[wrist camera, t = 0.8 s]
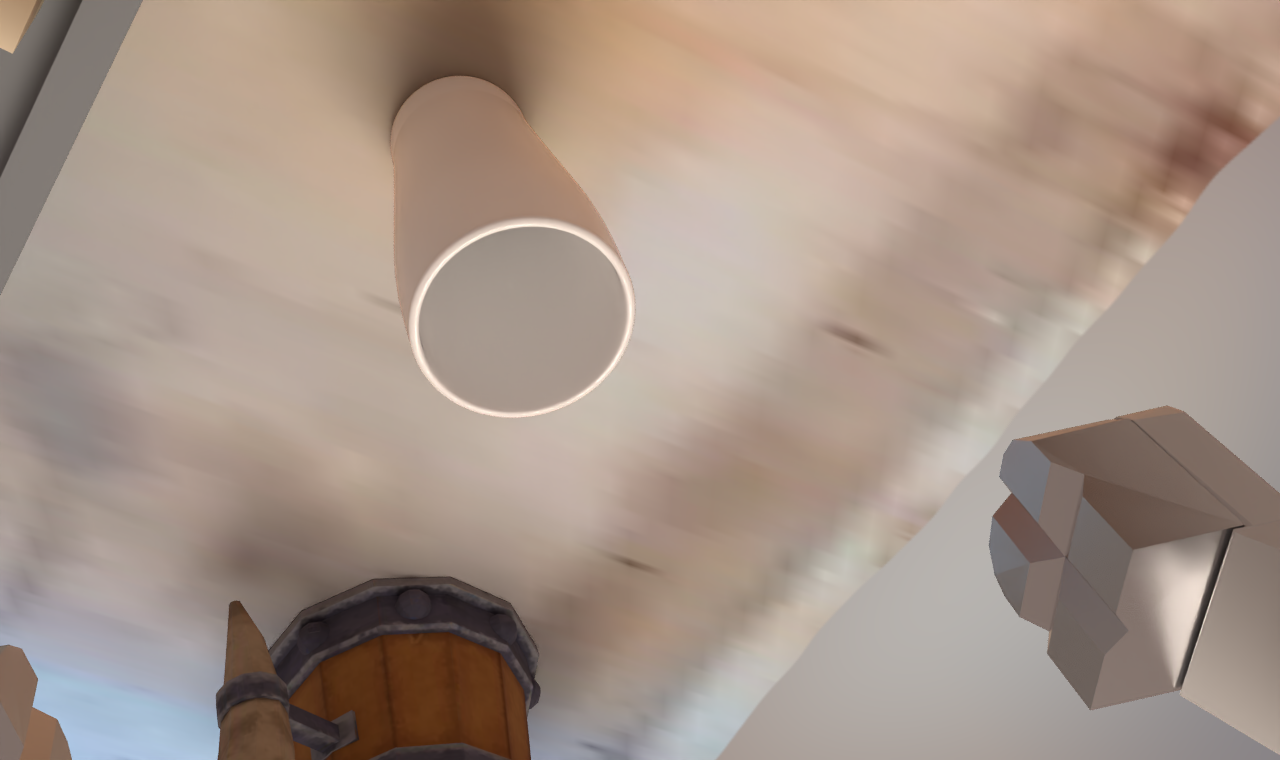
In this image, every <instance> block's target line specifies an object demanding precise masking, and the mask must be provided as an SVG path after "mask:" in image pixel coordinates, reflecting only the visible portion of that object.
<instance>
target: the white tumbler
mask: <svg viewBox="0 0 1280 760" xmlns="http://www.w3.org/2000/svg"><path fill="white" fill-rule="evenodd" d="M390 149H391V156H392V161H393V166H394V268H395V278H396V286H397V292H398V298H399V303H400V308H401V312H402V316H403V320H404V324H405V328H406V331H407V335H408V338H409V341H410V345H411V349H412V352H413V355H414V357H415V360H416V362H417V364H418V366H419V368H420V370H421V371H422V373H423V374H424V376H425V377H426V378H427V380H428V381H429V382H430V383H431V384H432V385H433V386H434V387H435V388H436V389H437V390H438V391H439V392H440V393H441V394H442V395H444V396H445V397H446V398H448V399H449V400H451V401H453V402H454V403H456V404H458V405H460V406H462V407H464V408H466V409H469V410H471V411H474V412H477V413H481V414H484V415H489V416H495V417H505V418H519V417H529V416H536V415H540V414H545V413H548V412H551V411H555V410H558V409H560V408H562V407H565V406H567V405H569V404H571V403H573V402H575V401H577V400H579V399H580V398H582V397H583V396H585V395H586V394H588V393H589V392H591V391H592V390H593V389H595V388H596V387H597V386H598V385H599V384H600V383H601V382H602V381H603V380H604V379H605V378H606V377H607V376H608V375H609V374H610V373H611V372H612V370H613V369H614V368H615V366H616V365H617V364H618V362H619V360H620V359H621V357H622V355H623V354H624V352H625V350H626V348H627V345H628V343H629V341H630V338H631V334H632V331H633V326H634V321H635V295H634V289H633V285H632V281H631V279H630V276H629V273H628V271H627V269H626V267H625V264H624V262H623V260H622V257H621V255H620V253H619V250H618V248H617V246H616V244H615V242H614V240H613V238H612V236H611V234H610V232H609V230H608V228H607V226H606V224H605V223H604V221H603V219H602V218H601V216H600V214H599V213H598V211H597V210H596V208H595V207H594V205H593V204H592V202H591V201H590V199H589V198H588V196H587V195H586V194H585V192H584V191H583V190H582V189H581V187H580V186H579V185H578V184H577V182H576V181H575V180H574V179H573V177H572V176H571V175H570V174H569V173H568V171H567V170H566V169H565V168H564V167H563V165H562V164H561V163H560V162H559V161H558V159H557V158H556V157H555V156H554V155H553V153H552V152H551V151H550V150H549V149H548V147H547V146H546V145H545V144H544V143H543V141H542V140H541V139H540V138H539V136H538V135H537V134H536V133H535V131H534V130H533V129H532V128H531V126H530V125H529V124H528V122H527V121H526V119H525V117H524V116H523V114H522V112H521V110H520V109H519V107H518V105H517V104H516V103H515V102H514V100H513V99H512V98H511V97H510V96H509V95H508V94H507V93H506V92H504V91H503V90H502V89H500V88H499V87H497V86H496V85H494V84H492V83H490V82H488V81H486V80H483V79H479V78H476V77H471V76H449V77H444V78H440V79H437V80H434V81H432V82H429V83H427V84H425V85H424V86H422V87H421V88H419V89H418V90H416V91H415V92H414V93H413V94H412V95H411V96H410V97H409V98H408V99H407V100H406V101H405V102H404V104H403V105H402V107H401V108H400V110H399V111H398V113H397V115H396V118H395V120H394V123H393V127H392V131H391V139H390Z"/></svg>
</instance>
